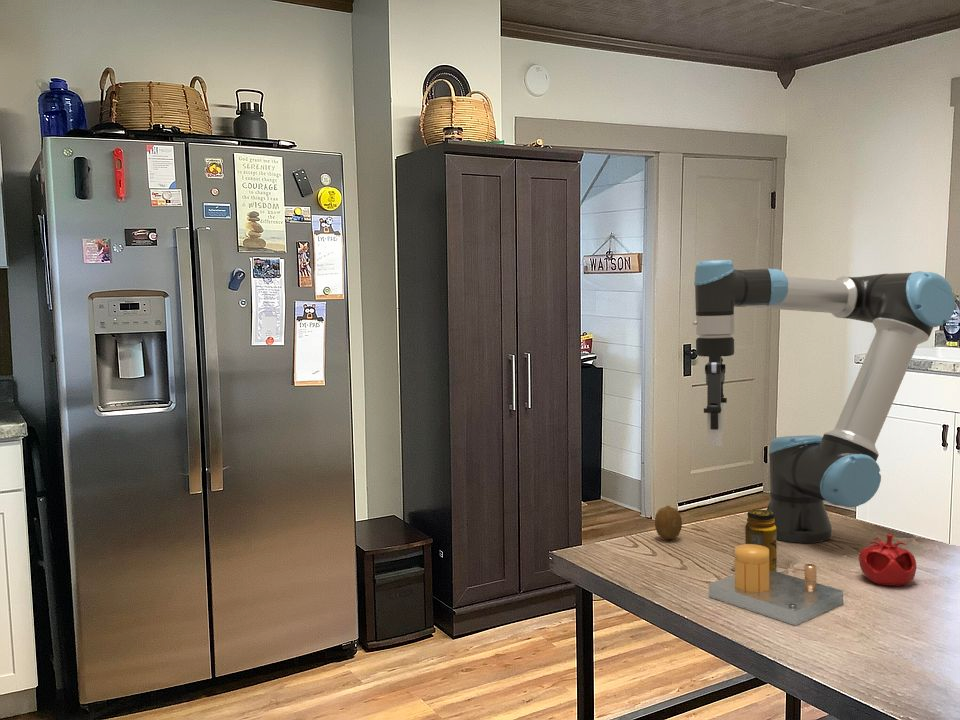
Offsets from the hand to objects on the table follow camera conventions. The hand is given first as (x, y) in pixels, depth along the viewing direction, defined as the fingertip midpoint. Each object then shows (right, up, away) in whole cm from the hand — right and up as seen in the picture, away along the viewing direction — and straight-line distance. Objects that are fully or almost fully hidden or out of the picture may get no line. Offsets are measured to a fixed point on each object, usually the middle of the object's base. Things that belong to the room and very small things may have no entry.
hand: (716, 439), depth 169 cm
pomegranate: (+30, -27, -10) cm, 42 cm away
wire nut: (+2, -25, -17) cm, 31 cm away
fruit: (-5, -26, +22) cm, 34 cm away
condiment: (+8, -27, -1) cm, 28 cm away
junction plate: (+6, -28, -18) cm, 34 cm away
